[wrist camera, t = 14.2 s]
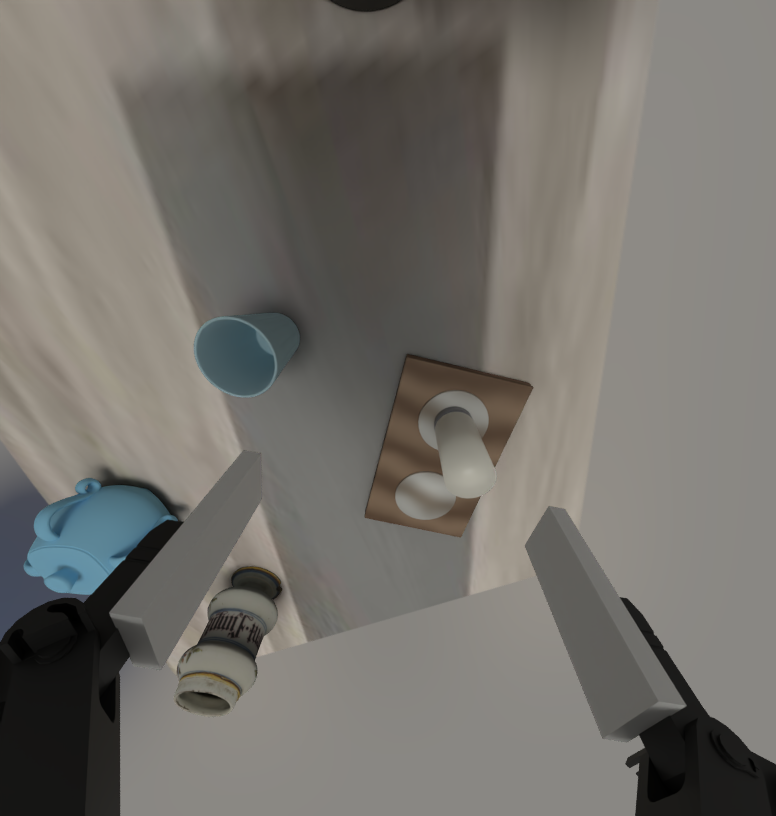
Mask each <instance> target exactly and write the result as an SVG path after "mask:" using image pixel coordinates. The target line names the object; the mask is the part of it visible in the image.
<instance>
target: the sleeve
mask: <svg viewBox="0 0 776 816" xmlns="http://www.w3.org/2000/svg"><path fill="white" fill-rule="evenodd" d="M434 429H435V435H436V440H437V445H438V451H439V456H440V461H441V467H442V472H443V477H444V483H445V486H446V488H447V489H448V491H449V492H451V493H452V494H453V495H455V496H458V497H461V498H476V497H480V496H482V495H484V494H486V493H487V492H489V491H490V490H491V489H492V488H493V486H494V485H495V482H496V479H497V473H496V470H495V468H494V466H493V463H492V461H491V459H490V457H489V454H488V452H487V450H486V448H485V445H484V443H483V441H482V439H481V436H480V434H479V432H478V430H477V428H476V425H475V423H474V421H473V419H472V416H471V414H470V413H469V412H468V411H467V410H466V409H464V408H461V407H457V406H453V407H448V408H445V409H443V410H442V411H440V412H439V413H438V414H437V416H436V417H435V420H434Z"/></svg>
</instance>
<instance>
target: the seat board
mask: <svg viewBox="0 0 776 816" xmlns="http://www.w3.org/2000/svg"><path fill="white" fill-rule="evenodd" d="M532 389H533V386H531V385H530V384H529V383H527V382H523V381H519V380H514V379H510V378H506V377H502V376H498V375H493V374H489V373H485V372H481V371H477V370H472V369H468V368H464V367H460V366H456V365H451V364H447V363H443V362H439V361H435V360H430V359H426V358H422V357H418V356H414V355H409V354H407V356H406V359H405V363H404V367H403V371H402V375H401V378H400V382H399V386H398V390H397V394H396V397H395V401H394V405H393V409H392V413H391V416H390V420H389V424H388V428H387V432H386V435H385V439H384V443H383V447H382V450H381V454H380V458H379V462H378V466H377V469H376V473H375V477H374V481H373V485H372V488H371V492H370V496H369V500H368V504H367V507H366V512H365V518H369V519H374V520H378V521H383V522H388V523H393V524H398V525H403V526H408V527H413V528H417V529H422V530H427V531H432V532H437V533H442V534H447V535H452V536H457V537H461V536H462V534H463V532H464V530H465V528H466V526H467V524H468V522H469V520H470V517H471V515H472V513H473V511H474V509H475V507H476V505H477V503H478V501H479V499H480V497H481V496H480V497H476V498H461V497H458V496H455V495H453V494H452V493H451V492H449V491H448V489H447V488H446V486H445V483H444V477H443V472H442V467H441V461H440V456H439V451H438V445H437V440H436V435H435V429H434V420H435V417H436V416H437V414H438V413H439V412H440V411H442V410H443V409H445V408H448V407H453V406H457V407H461V408H464V409H466V410H467V411H468V412H469V413H470V414H471V416H472V419H473V421H474V423H475V425H476V428H477V430H478V432H479V434H480V436H481V439H482V441H483V443H484V445H485V448H486V450H487V452H488V454H489V457H490V459H491V461H492V463H493V466H494V468H495V466H496V464H497V462H498V460H499V457H500V455H501V453H502V451H503V449H504V447H505V445H506V443H507V441H508V439H509V437H510V435H511V433H512V431H513V429H514V426H515V424H516V422H517V420H518V418H519V416H520V414H521V412H522V410H523V408H524V406H525V404H526V402H527V400H528V397H529V395H530V393H531V391H532Z"/></svg>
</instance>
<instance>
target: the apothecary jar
mask: <svg viewBox="0 0 776 816" xmlns="http://www.w3.org/2000/svg"><path fill="white" fill-rule="evenodd" d="M280 584H281V582H280V580H279V579H278V577H277V576H276V575H274V574H273V573H271V572H270V571H268V570H265V569H263V568H259V567H244V568H241V569H238V570H237V571H236V572H235V573H234V574H233V576H232V585H233V587H231V588H228V589H225V590H223V591H221V592H220V593H218V594H217V595H216V596H215V597H214V598H213V599H212V600H211V602H210V604H209V607H208V620H209V622H208V624H207V626H206V628H205V630H204V632H203V634H202V636H201V638H200V640H199V642H198V644H197V645H195V646H193V647H191V648H190V649H188V650H187V651H186V652H185V653H184V654H183V655H182V657H181V658H180V660H179V663H178V666H177V677H178V680H179V684H178V688H177V690H176V693H175V695H174V702H175V703H176V705H177V706H178V707H180V708H181V709H183V710H185V711H187V712H190V713H193V714H196V715H201V716H207V717H218V716H224V715H226V714H229V713H230V712H231V711H232V710H233V708H234V706H235V704H236V702H237V700H238V699H239V697H240V696H242V695H243V694H245V693H246V692H247V691H248V690H249V689H250V688H251V687H252V686H253V684H254V682H255V680H256V677H257V665H256V663H255V658H256V655H257V653H258V650H259V647H260V644H261V642H262V639H263V637H264V636H265V635H266V634H268V633H269V632H270V631H271V630H272V629H273V627H274V626H275V624H276V621H277V616H278V613H277V608H276V605H275V603H274V601H273V600H272V599H274V598H276V597H277V596H278V595H279V594H280V593H281V591H282V588H281V587H280Z"/></svg>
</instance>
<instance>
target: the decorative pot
mask: <svg viewBox="0 0 776 816" xmlns="http://www.w3.org/2000/svg"><path fill="white" fill-rule="evenodd" d="M87 485H88V489H87V490H86V489H85V488H86V486H87ZM75 490H76V492H77V493H79V494H77V495H74V496H71V497H68V498H65V499H63V500H60V501H57V502H55V503H53V504H51V505H49V506H47V507H46V508H44V509H43V510H42V511H40V513H39V514H38V515H37V517H36V519H35V522H34V530H35V533H36V534H37V538H36V540H35V541H34V543H33V545H32V546H31V548H30V550H29V552H28V559H27V560H26V561H25V563H24V570H25V571H26V573H27V574H29V575H31V576H42V577H43V578H44V583H45V585H46V586H47V587H48V588H49V589H51V590H53V591H55V592H59V593H67V592H68V593H74V594H92V593H93V592H94V591H95V590H96V589H97V588H98V587H99V586H100V585H101V583H102V582H103V581H104V580H105V579H106V578H107V577H108V576H109V575H110V574H111V573H112V572H113V570H114V569H115V568H116V567H117V566H118V565H119V564H120V563H121V562H122V561H123V560H125V559H126V556H127V555H128V554H129V553H130V552H131V551H132V550H133V549H134V548H136V547H137V544H138V543H139V542H140V541H141V540H142V539H143V538H144V537H145V536H146V535H147V534H148V533H149V532H150V531H151V530H152V529H154V528H155V527H157V526H158V525H160V524H161V523H163V522H164V521H166V520H167V519H168V520H174V521H178V519H177V518H176V517H175V516H173V515H170V513H169V512H168V510H167V509H166V507H165V506H164V505H163V503H162V502H161V501H160V500H159V499H158V498H157V497H156V496H155V495H154V494H153V493H152V492H151V491H150V490H148V489H146V488H139V487H134V486H126V485H112V486H104V487H101V484H100V482H99V481H97V480H95V479H93V478H86V479H83V480H81V481H79V482H78V483H77V485H76V487H75Z"/></svg>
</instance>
